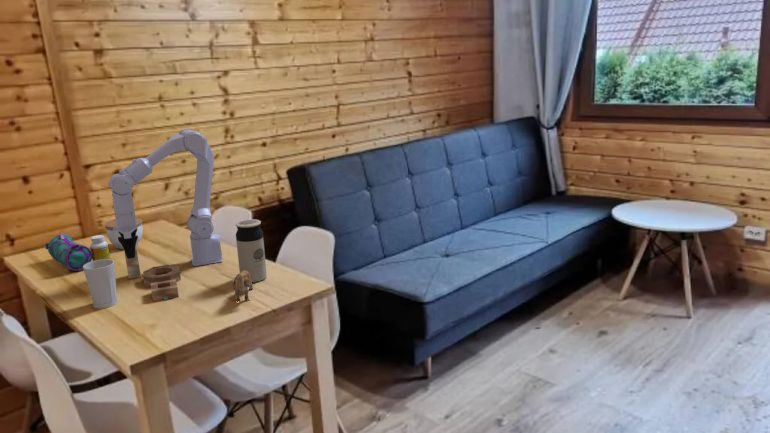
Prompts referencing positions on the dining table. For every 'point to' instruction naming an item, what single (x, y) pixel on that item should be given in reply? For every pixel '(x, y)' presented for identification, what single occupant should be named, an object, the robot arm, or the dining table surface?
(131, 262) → the brown and teal block
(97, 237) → the supplement bottle
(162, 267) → the brown faceted ring
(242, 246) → the travel mug
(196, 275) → the dining table surface
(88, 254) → the pencil case
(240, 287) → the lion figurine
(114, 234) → the lidded bowl
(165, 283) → the threaded bead
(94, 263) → the cup
